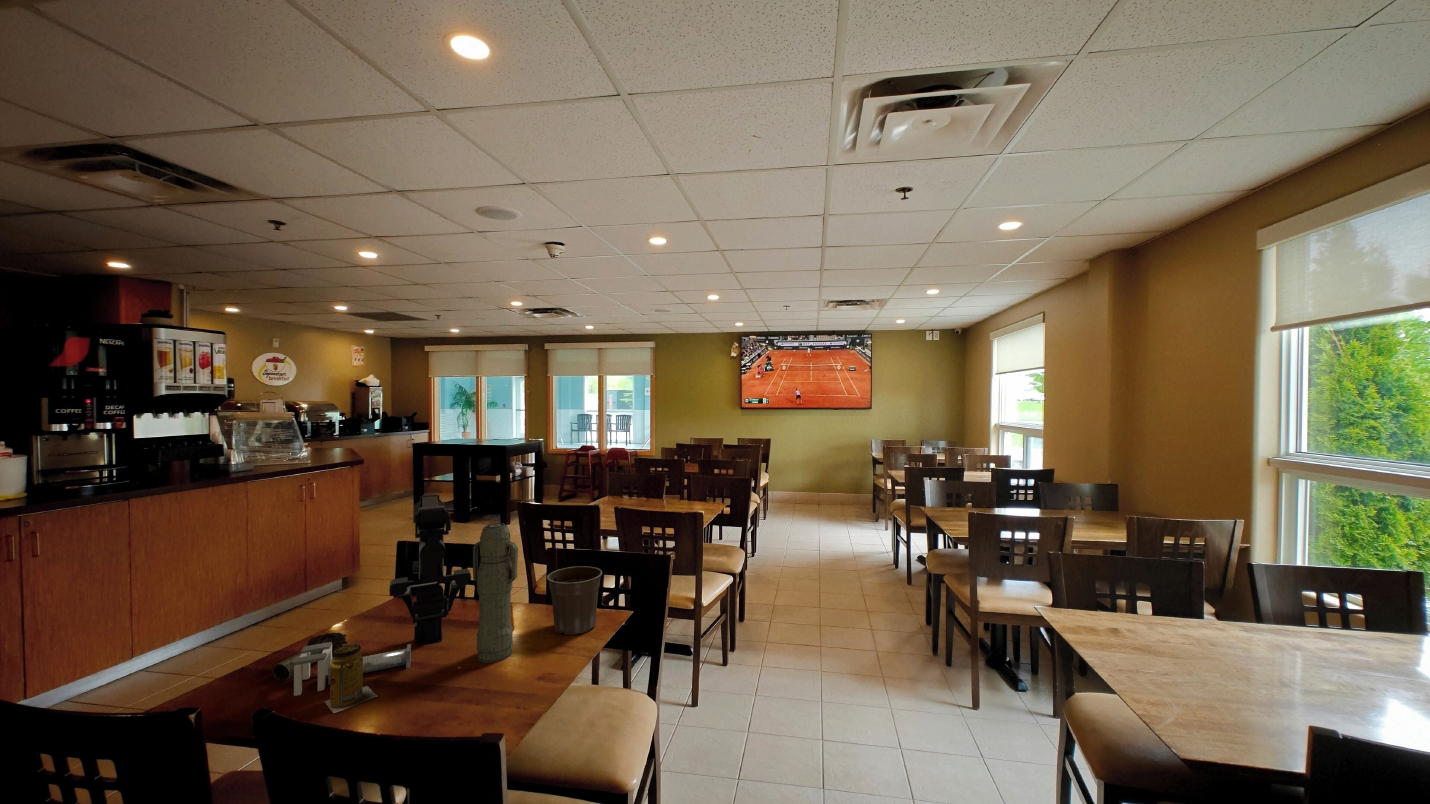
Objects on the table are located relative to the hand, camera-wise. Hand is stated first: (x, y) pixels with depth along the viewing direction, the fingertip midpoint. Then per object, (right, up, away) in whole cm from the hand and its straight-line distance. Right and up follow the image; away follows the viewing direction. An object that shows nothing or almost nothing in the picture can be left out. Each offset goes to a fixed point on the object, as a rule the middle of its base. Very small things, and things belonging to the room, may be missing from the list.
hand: (431, 614), depth 136 cm
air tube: (-12, -12, -6) cm, 18 cm away
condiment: (-8, -12, -19) cm, 24 cm away
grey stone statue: (+16, -12, +3) cm, 20 cm away
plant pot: (+33, -13, +20) cm, 40 cm away
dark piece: (-31, -13, -1) cm, 33 cm away
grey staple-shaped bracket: (-22, -12, -12) cm, 28 cm away
